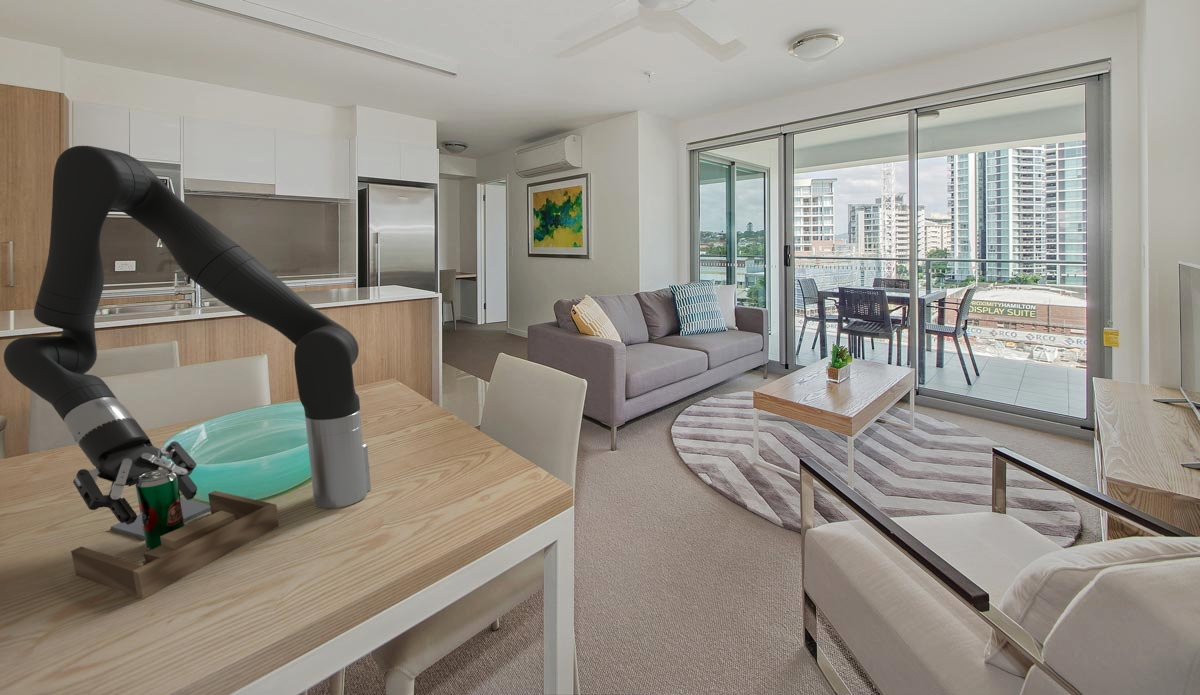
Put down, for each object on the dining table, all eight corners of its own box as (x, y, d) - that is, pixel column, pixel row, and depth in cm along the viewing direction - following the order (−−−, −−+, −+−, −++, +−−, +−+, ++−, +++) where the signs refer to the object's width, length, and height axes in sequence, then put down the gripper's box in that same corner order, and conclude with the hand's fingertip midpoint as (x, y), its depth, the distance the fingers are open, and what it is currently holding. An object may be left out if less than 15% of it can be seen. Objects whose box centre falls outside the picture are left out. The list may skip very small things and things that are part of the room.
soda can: (179, 548, 83) (168, 478, 81) (140, 554, 81) (128, 483, 79) (191, 532, 87) (181, 466, 85) (154, 538, 86) (142, 470, 83)
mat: (181, 500, 98) (180, 498, 98) (213, 508, 95) (213, 505, 95) (111, 529, 88) (110, 526, 88) (145, 539, 85) (144, 536, 85)
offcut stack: (223, 529, 88) (220, 507, 87) (243, 534, 87) (239, 511, 86) (142, 569, 77) (137, 544, 76) (162, 576, 76) (158, 550, 75)
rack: (217, 511, 95) (215, 490, 94) (278, 525, 90) (276, 504, 89) (75, 575, 76) (70, 550, 75) (143, 599, 71) (138, 572, 70)
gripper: (57, 432, 76) (118, 517, 75) (164, 405, 90) (219, 477, 88) (43, 461, 79) (102, 543, 77) (149, 431, 92) (201, 501, 91)
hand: (164, 508), depth 83 cm, fingers open, 8 cm apart
